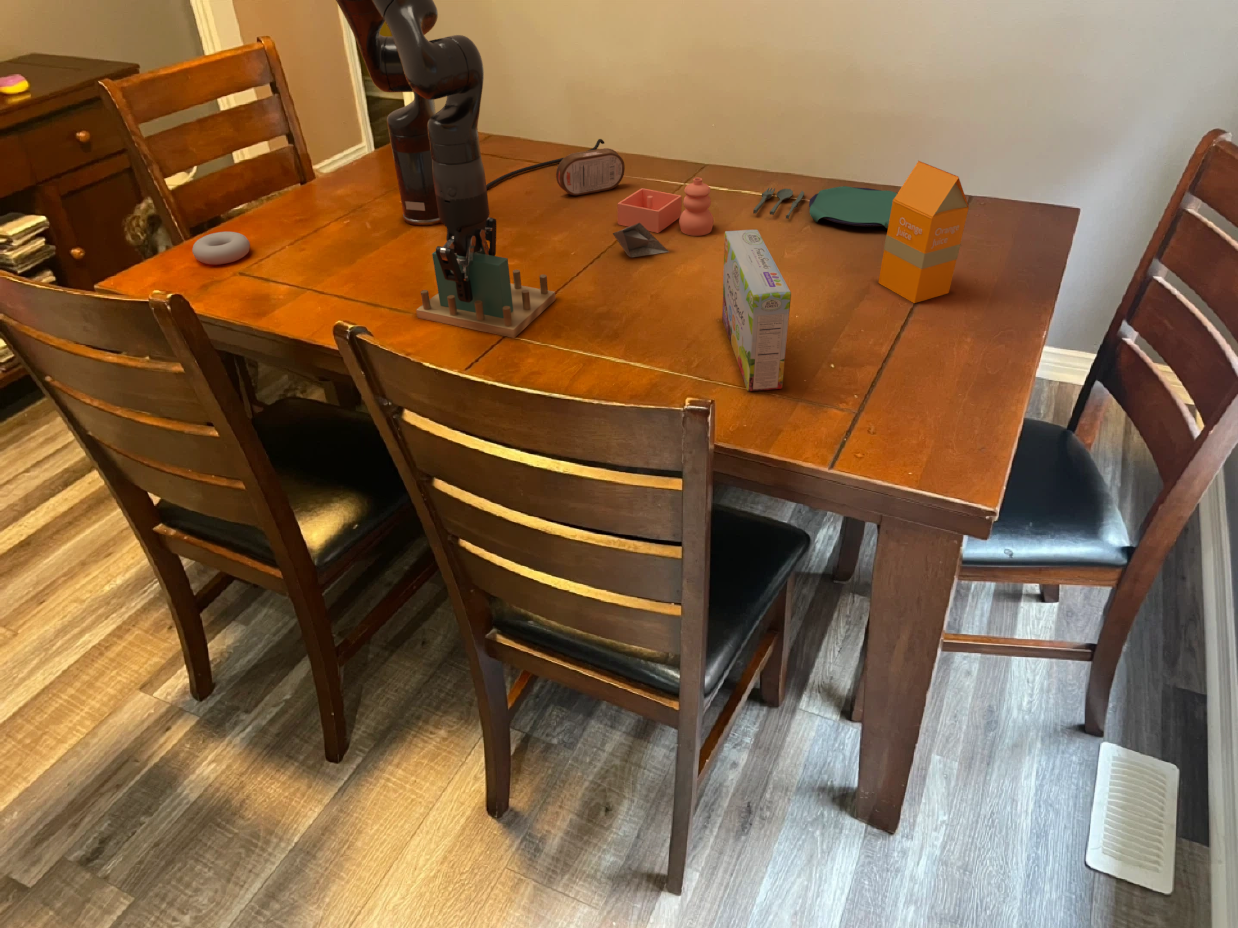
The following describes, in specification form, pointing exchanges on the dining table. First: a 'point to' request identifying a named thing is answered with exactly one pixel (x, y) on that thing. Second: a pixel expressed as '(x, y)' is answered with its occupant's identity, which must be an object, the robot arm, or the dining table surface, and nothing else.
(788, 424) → the dining table surface
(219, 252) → the donut
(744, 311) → the snack box
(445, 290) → the teal rectangular block
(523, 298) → the rack
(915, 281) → the orange juice
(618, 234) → the paper boat
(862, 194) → the cutlery set
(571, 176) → the tin
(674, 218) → the pottery
